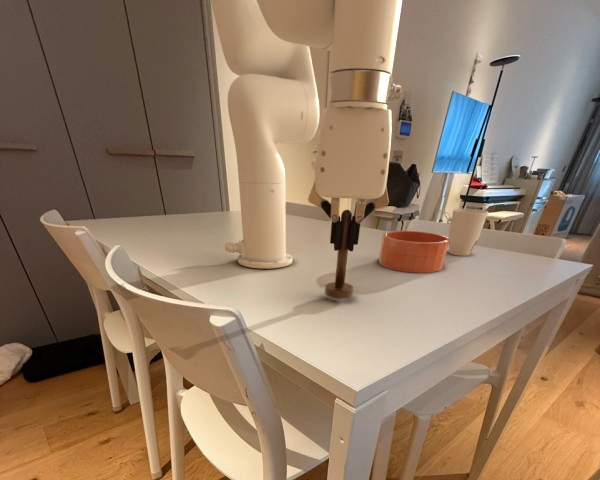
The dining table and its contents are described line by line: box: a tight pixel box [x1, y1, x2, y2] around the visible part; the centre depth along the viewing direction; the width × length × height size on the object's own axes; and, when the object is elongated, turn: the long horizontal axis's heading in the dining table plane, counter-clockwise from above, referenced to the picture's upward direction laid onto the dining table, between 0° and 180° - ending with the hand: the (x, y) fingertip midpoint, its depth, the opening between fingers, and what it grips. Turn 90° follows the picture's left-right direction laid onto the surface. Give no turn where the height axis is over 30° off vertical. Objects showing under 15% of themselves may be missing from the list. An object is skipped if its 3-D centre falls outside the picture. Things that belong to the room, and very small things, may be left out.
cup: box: [448, 208, 489, 257], centre depth 86 cm, size 8×8×10 cm
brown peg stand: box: [324, 209, 354, 299], centre depth 54 cm, size 5×5×13 cm
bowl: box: [378, 230, 449, 274], centre depth 77 cm, size 14×14×6 cm
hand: (343, 248), depth 54 cm, fingers closed on brown peg stand
